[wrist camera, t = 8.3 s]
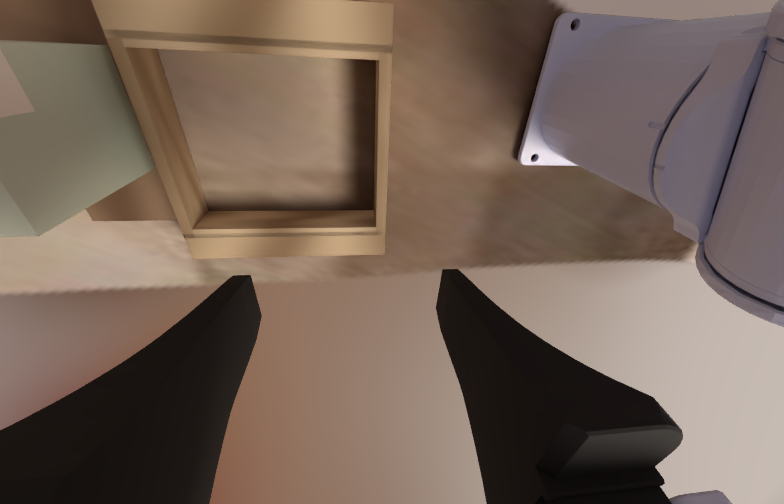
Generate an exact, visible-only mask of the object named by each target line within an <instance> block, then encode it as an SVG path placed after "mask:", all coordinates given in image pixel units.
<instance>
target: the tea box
mask: <svg viewBox="0 0 784 504" xmlns="http://www.w3.org/2000/svg"><path fill="white" fill-rule="evenodd" d="M154 168H156V167H155V165H154V162H153V160H152V157H151V155H150V152H149V150H148V147H147V145H146V142H145V139H144V137H143V134H142V132H141V129H140V127H139V124H138V122H137V119H136V117H135V114H134V112H133V109H132V107H131V104H130V101H129V99H128V96H127V94H126V91H125V89H124V86H123V84H122V81H121V79H120V76H119V74H118V71H117V69H116V66H115V63H114V61H113V58H112V56H111V53H110V51H109V48H108V46H107V45H92V44H72V43H53V42H34V41H15V40H0V237H18V236H40V235H42V234H43V233H45V232H47V231H49V230H50V229H52V228H54V227H55V226H57V225H59V224H61V223H62V222H64V221H66V220H67V219H69V218H71V217H72V216H74V215H76V214H78V213H79V212H81V211H83V210H84V209H86V208H88V207H90V206H91V205H93V204H95V203H96V202H98V201H100V200H101V199H103V198H105V197H107V196H108V195H110V194H112V193H113V192H115V191H117V190H119V189H120V188H122V187H124V186H125V185H127V184H129V183H131V182H132V181H134V180H136V179H137V178H139V177H141V176H142V175H144V174H146V173H148V172H149V171H151V170H153V169H154Z"/></svg>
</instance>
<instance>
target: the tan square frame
mask: <svg viewBox="0 0 784 504" xmlns="http://www.w3.org/2000/svg"><path fill="white" fill-rule="evenodd" d="M91 1H92V4H93V6H94V9H95V11H96V14H97V16H98V19H99V21H100V24H101V26H102V29H103V32H104V34H105V37H106V39H107V42H108V44H109V47H110V49H111V52H112V54H113V57H114V60H115V62H116V65H117V67H118V70H119V72H120V75H121V77H122V80H123V83H124V85H125V88H126V90H127V93H128V95H129V98H130V100H131V103H132V105H133V108H134V111H135V113H136V116H137V118H138V121H139V123H140V126H141V128H142V131H143V133H144V136H145V139H146V141H147V144H148V146H149V149H150V151H151V154H152V156H153V159H154V162H155V164H156V167H157V169H158V172H159V174H160V177H161V179H162V182H163V184H164V187H165V190H166V192H167V195H168V197H169V200H170V202H171V205H172V207H173V210H174V212H175V215H176V218H177V220H178V223H179V225H180V228H181V230H182V233H183V235H184V238H185V241H186V243H187V246H188V248H189V251H190V253H191V256H192V258H193V259H200V258H244V257H288V256H332V255H376V254H384V253H385V227H386V200H387V174H388V148H389V121H390V95H391V68H392V42H393V16H394V4H389V3H376V2H362V1H349V0H91ZM157 49H173V50H192V51H212V52H231V53H250V54H269V55H289V56H308V57H327V58H347V59H366V60H376V88H375V164H374V210H321V211H209V210H208V207H207V204H206V201H205V198H204V195H203V192H202V189H201V185H200V182H199V179H198V176H197V173H196V170H195V167H194V164H193V161H192V158H191V154H190V151H189V148H188V145H187V142H186V139H185V136H184V133H183V130H182V126H181V123H180V120H179V117H178V114H177V111H176V108H175V105H174V102H173V98H172V95H171V92H170V89H169V86H168V83H167V80H166V77H165V74H164V71H163V67H162V64H161V61H160V58H159V55H158V52H157Z"/></svg>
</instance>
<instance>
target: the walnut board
mask: <svg viewBox="0 0 784 504" xmlns="http://www.w3.org/2000/svg"><path fill="white" fill-rule="evenodd" d="M0 40H15V41H34V42H53V43H72V44H92V45H107V46H108V48H109V51H110V53H111V56H112V58H113V61H114V63H115V66H116V69H117V71H118V74H119V76H120V79H121V81H122V84H123V86H124V89H125V91H126V94H127V96H128V99H129V101H130V104H131V107H132V109H133V112H134V114H135V117H136V119H137V122H138V124H139V127H140V129H141V132H142V134H143V137H144V139H145V136H144V133H143V131H142V128H141V126H140V123H139V121H138V118H137V116H136V113H135V111H134V108H133V105H132V103H131V100H130V98H129V95H128V93H127V90H126V88H125V85H124V83H123V80H122V77H121V75H120V72H119V70H118V67H117V65H116V62H115V60H114V57H113V54H112V52H111V49H110V47H109V44H108V42H107V39H106V37H105V34H104V32H103V29H102V26H101V24H100V21H99V19H98V16H97V14H96V11H95V9H94V6H93V4H92V1H91V0H0ZM145 142H146V145H147V147H148V150H149V152H150V155H151V157H152V160H153V162H154V159H153V156H152V154H151V151H150V149H149V146H148V144H147V141H146V139H145ZM154 165H155V167H156V164H155V162H154ZM86 210H87V211H88V213H89V215H90V217H91V218H92V220H93V221H144V220H177V218H176V215H175V212H174V210H173V207H172V205H171V202H170V200H169V197H168V195H167V192H166V190H165V187H164V184H163V182H162V179H161V177H160V174H159V172H158V169H157V167H156V168H154V169H153V170H151V171H149V172H148V173H146V174H144V175H142V176H141V177H139V178H137V179H136V180H134V181H132V182H131V183H129V184H127V185H125V186H124V187H122V188H120V189H119V190H117V191H115V192H113V193H112V194H110V195H108V196H107V197H105V198H103V199H101V200H100V201H98V202H96V203H95V204H93V205H91V206H90V207H88V208H86Z"/></svg>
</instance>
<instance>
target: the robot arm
mask: <svg viewBox="0 0 784 504" xmlns="http://www.w3.org/2000/svg"><path fill="white" fill-rule="evenodd" d="M573 20H575V21H576V26H575V28H574V29H573V30H571V28H570V27H571V23H572V21H573ZM534 154H536V156H535V158H534V159H533V160H531V157H532V155H534ZM518 161H519V162H520V163H521V164H522V165H552V166H580V167H582V168H584V169H586V170H588V171H590V172H592V173H594V174H596V175H598V176H600V177H602V178H604V179H606V180H608V181H610V182H612V183H614V184H616V185H618V186H620V187H622V188H624V189H626V190H628V191H630V192H632V193H634V194H636V195H638V196H640V197H642V198H644V199H646V200H648V201H650V202H652V203H654V204H656V205H658V206H660V207H662V208H664V209H666V210H668V211H669V212H670V213H671V214H672V216H673V218H674V227H673V229H674V230H676V231H678V232H679V233H681V234H683V235H685V236H687V237H688V238H690V239H692V240H694V241H696V242H697V243H699V245H698V248H697V252H696V256H695V259H696V266H697V269H698V271H699V273H700V275H701V277H702V278H703V279H704V281H705V282H706V283H707V284H708V285H709V286H710V287H711V288H712V289H713V290H714V291H715V292H716V293H717V294H719V295H720V296H722V297H723V298H725V299H726V300H728V301H729V302H730V303H732V304H734V305H736V306H737V307H739V308H741V309H743V310H745V311H746V312H748V313H750V314H753V315H755V316H757V317H759V318H762V319H764V320H766V321H769V322H771V323H774V324H777V325H779V326H783V327H784V0H779V1H778V2H777V3H776V4H775V5H774V7H773V8H772V10H771V12H766V13H757V14H746V15H735V16H725V17H714V18H705V19H694V20H684V21H678V20H666V19H653V18H640V17H626V16H614V15H600V14H587V13H574V12H568V13H563V14H561V15H560V16H559V17H558V18H557V19H556V21H555V23H554V27H553V30H552V34H551V38H550V41H549V45H548V49H547V52H546V56H545V60H544V63H543V67H542V70H541V74H540V78H539V81H538V85H537V89H536V92H535V96H534V100H533V103H532V107H531V110H530V114H529V118H528V121H527V125H526V129H525V132H524V136H523V140H522V143H521V147H520V151H519V154H518ZM436 310H437V315H438V320H439V324H440V329H441V332H442V335H443V338H444V341H445V344H446V347H447V349H448V352H449V355H450V358H451V361H452V364H453V366H454V369H455V372H456V375H457V378H458V380H459V383H460V386H461V389H462V393H463V396H464V401H465V405H466V409H467V412H468V417H469V421H470V425H471V429H472V434H473V438H474V443H475V447H476V452H477V456H478V461H479V466H480V471H481V476H482V481H483V485H484V491H485V496H486V502H487V504H732V503H731V502H730V501H729V500H728V498H727V497H726V496H725V495H724V494H723V492H720V491H718V490H714V491H706V492H699V493H690V494H684V495H679V496H675V497H673V498H670V499H668V497H667V496H666V494H665V493H664V492H663V491H662V489H661V488H660V486H661V485H663V484H664V479H663V477H662V476H661V475H660V473H659V472H658V471H657V469H656V468H655V466H656V465H657V464H658V463H660V462H661V461H662V460H663V459H664V458H665V457H667V456H668V455H669V454H670V453H672V452H673V451H674V450H675V449H676V448H677V447H678V446H679V445H680V443H681V441H682V439H683V434H682V430H681V429H680V428H679V426H678V425H677V424H676V423H675V422H674V421H673V420H672V418H671V417H670V416H669V415H668V414H667V413H666V412H665V410H664V409H663V408H662V407H661V406H660V405H659V403H658V402H657V401H656V400H655V399H654V398H653V397H651V396H649V395H647V394H645V393H643V392H640V391H638V390H636V389H634V388H632V387H629V386H627V385H625V384H623V383H621V382H618V381H616V380H614V379H612V378H610V377H608V376H606V375H604V374H602V373H600V372H597V371H596V370H594V369H592V368H590V367H588V366H586V365H584V364H583V363H581V362H579V361H577V360H575V359H573V358H572V357H570V356H568V355H567V354H565V353H563V352H562V351H560V350H558V349H557V348H555V347H553V346H552V345H550V344H549V343H547V342H545V341H544V340H542V339H541V338H539V337H538V336H536V335H535V334H534V333H532V332H531V331H529V330H528V329H526V328H525V327H524V326H522V325H521V324H520V323H518V322H517V321H515V320H514V319H513V318H512V317H511V316H509V315H508V314H507V313H506V312H504V311H503V310H502V309H500V307H498V306H497V305H496V304H495V303H494V302H493V301H491V300H490V299H489V298H488V297H487V296H486V295H485V294H484V293H483V292H482V291H480V290H479V289H478V288H477V287H476V286H475V285H474V284H473V283H472V282H471V281H470V280H469V279H468V278H467V277H466V276H465V275H464V274H463V273H461V272H460V271H459V270H458V269H443V270H442V276H441V282H440V288H439V293H438V299H437V305H436ZM260 321H261V312H260V308H259V304H258V301H257V297H256V293H255V290H254V286H253V282H252V278H251V275H237V276H232V277H231V278H230V279H228V280H227V281H226V282H225V283H224V284H222V285H221V286H220V287H219V288H218V289H217V290H216V291H215V292H214V293H212V294H211V295H210V296H209V297H208V298H207V299H205V300H204V301H203V302H202V303H201V304H200V305H198V306H197V307H196V308H195V309H194V310H192V311H191V312H190V313H189V314H188V315H187V316H185V317H184V318H183V319H182V320H180V321H179V322H178V323H176V324H175V325H174V326H173V327H171V328H170V329H169V330H167V331H166V332H165V333H164V334H163V335H161V336H160V337H158V338H157V339H156V340H154V341H153V342H152V343H150V344H149V345H148V346H146V347H145V348H143V349H142V350H140V351H139V352H137V353H136V354H134V355H133V356H131V357H130V358H129V359H127V360H126V361H124V362H122V363H121V364H119V365H118V366H116V367H114V368H113V369H111V370H110V371H108V372H106V373H104V374H103V375H101V376H100V377H98V378H96V379H95V380H93V381H91V382H90V383H88V384H86V385H85V386H83V387H81V388H80V389H78V390H76V391H74V392H73V393H71V394H69V395H67V396H65V397H64V398H62V399H60V400H59V401H56V402H55V403H53V404H51V405H49V406H47V407H45V408H43V409H41V410H40V411H38V412H36V413H34V414H32V415H30V416H28V417H27V418H24V419H22V420H20V421H18V422H16V423H15V424H13V425H11V426H9V427H7V428H4V429H2V430H0V504H209V502H210V498H211V493H212V488H213V483H214V478H215V474H216V469H217V465H218V461H219V457H220V452H221V448H222V444H223V439H224V436H225V432H226V428H227V424H228V420H229V416H230V412H231V409H232V406H233V403H234V400H235V397H236V394H237V392H238V389H239V386H240V384H241V381H242V378H243V375H244V373H245V370H246V367H247V365H248V362H249V359H250V356H251V353H252V351H253V348H254V345H255V342H256V339H257V334H258V330H259V325H260Z"/></svg>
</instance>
